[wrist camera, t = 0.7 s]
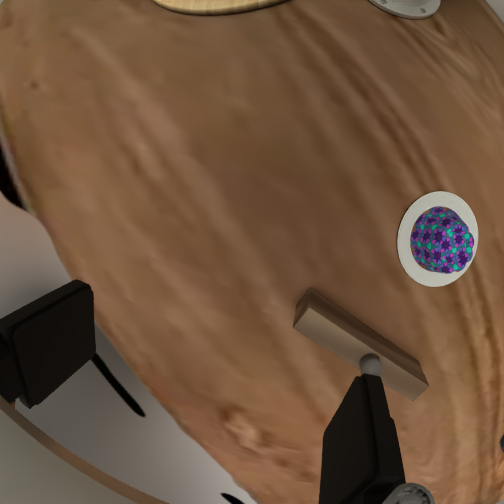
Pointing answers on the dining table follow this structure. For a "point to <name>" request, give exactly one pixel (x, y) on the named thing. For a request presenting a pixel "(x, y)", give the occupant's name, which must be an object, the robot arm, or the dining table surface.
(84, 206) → the dining table surface
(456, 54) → the dining table surface
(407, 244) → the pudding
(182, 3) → the wooden plate with food
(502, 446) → the soda can
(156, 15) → the dining table surface
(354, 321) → the rail
